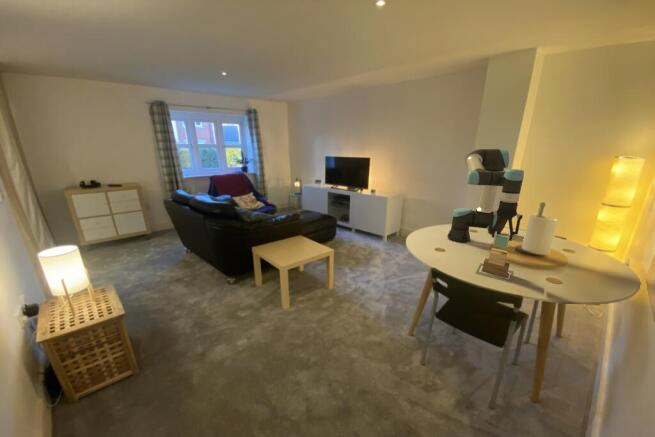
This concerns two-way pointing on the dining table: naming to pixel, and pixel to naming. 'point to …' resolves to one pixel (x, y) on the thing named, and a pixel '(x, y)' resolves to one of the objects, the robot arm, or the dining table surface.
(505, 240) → the teal cube
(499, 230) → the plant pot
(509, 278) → the grey flat square plate
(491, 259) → the oak block
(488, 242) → the dining table surface
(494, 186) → the robot arm
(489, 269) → the walnut foundation
